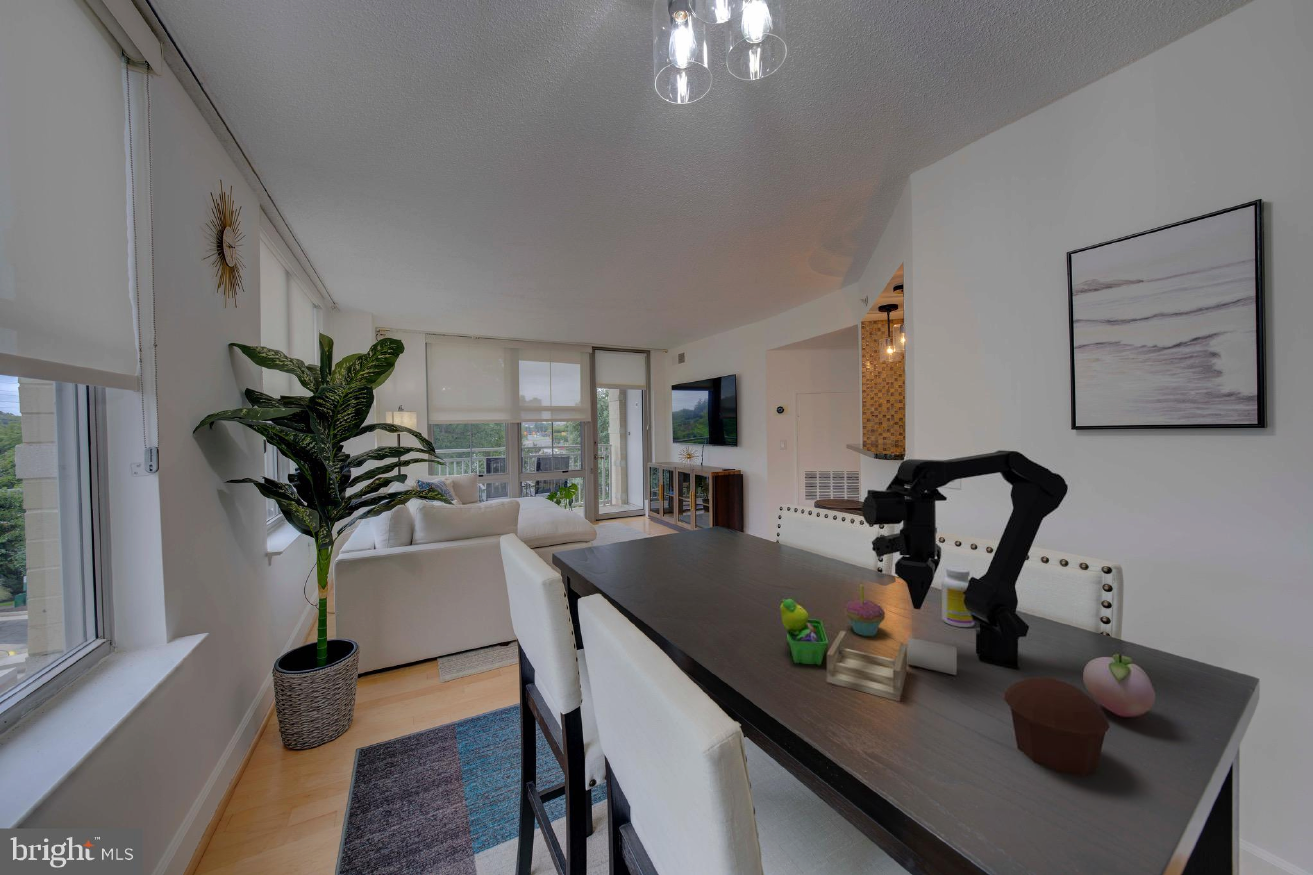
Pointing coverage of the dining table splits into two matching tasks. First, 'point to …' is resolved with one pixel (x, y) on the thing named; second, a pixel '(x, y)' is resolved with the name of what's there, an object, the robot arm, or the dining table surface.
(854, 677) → the roll cradle
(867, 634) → the cupcake
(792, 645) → the fruit basket
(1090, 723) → the muffin
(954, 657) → the paper roll
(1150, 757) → the dining table surface
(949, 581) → the supplement bottle
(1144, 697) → the decorative fruit
